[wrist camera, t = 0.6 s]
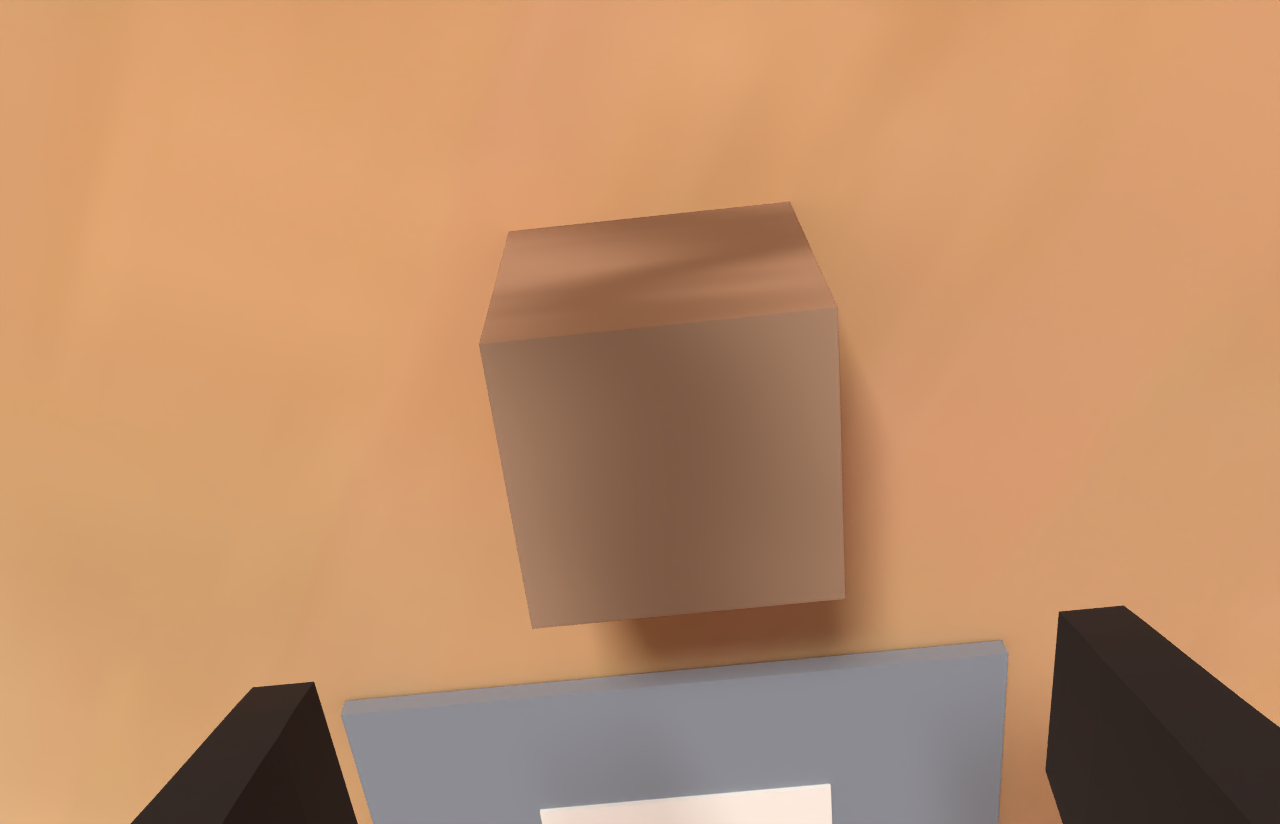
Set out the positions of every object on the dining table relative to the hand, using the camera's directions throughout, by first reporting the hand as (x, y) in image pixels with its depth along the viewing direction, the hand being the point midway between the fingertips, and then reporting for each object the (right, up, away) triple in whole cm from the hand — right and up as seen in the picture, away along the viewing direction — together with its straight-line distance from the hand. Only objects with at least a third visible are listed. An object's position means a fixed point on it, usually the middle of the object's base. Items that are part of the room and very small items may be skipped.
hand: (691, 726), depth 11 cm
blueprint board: (+1, -6, +14) cm, 15 cm away
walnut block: (0, +4, +8) cm, 9 cm away
